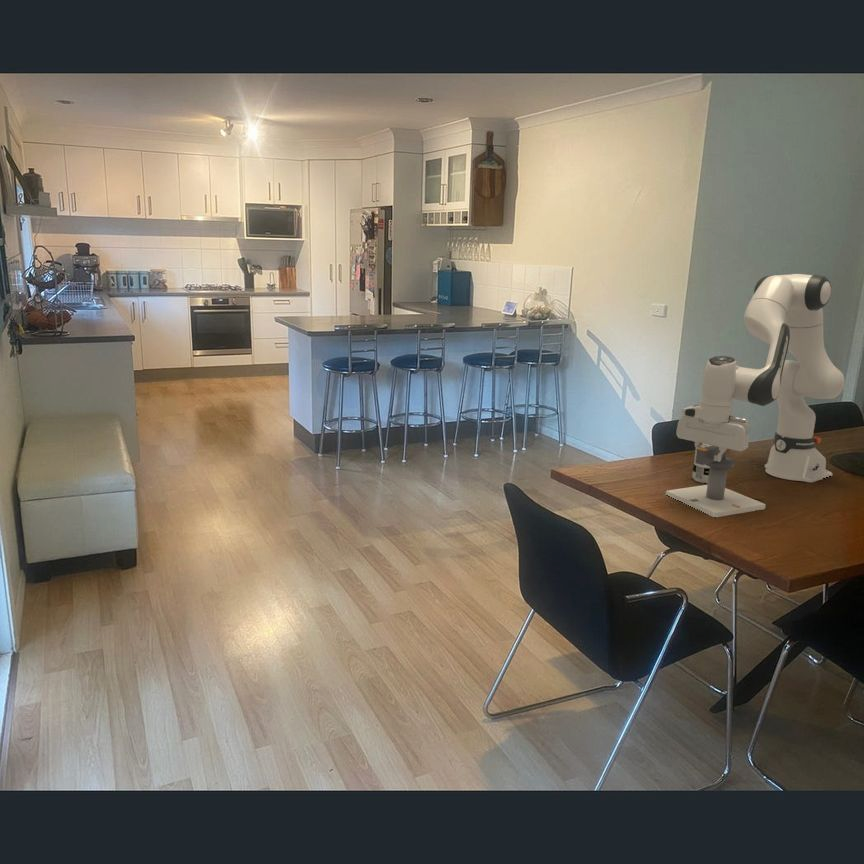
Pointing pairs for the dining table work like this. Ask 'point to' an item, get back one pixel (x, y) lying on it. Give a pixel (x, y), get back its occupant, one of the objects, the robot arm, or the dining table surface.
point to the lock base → (715, 504)
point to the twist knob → (707, 458)
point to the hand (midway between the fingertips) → (708, 458)
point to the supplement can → (701, 469)
